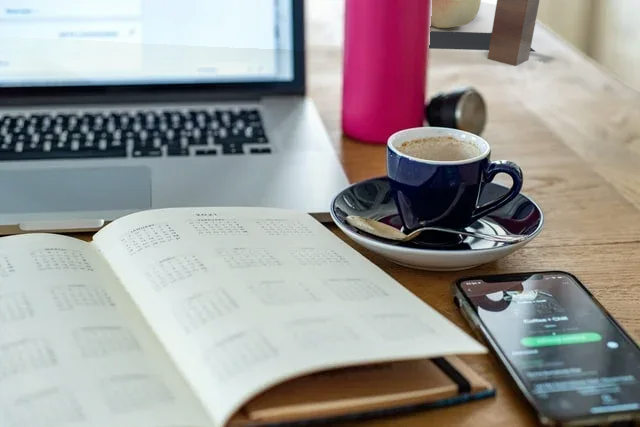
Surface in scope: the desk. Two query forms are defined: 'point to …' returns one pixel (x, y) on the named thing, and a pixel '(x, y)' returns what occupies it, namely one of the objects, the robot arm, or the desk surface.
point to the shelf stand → (513, 31)
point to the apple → (453, 12)
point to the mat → (460, 40)
